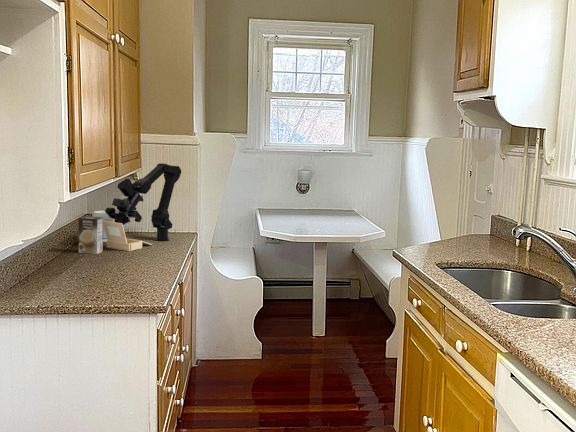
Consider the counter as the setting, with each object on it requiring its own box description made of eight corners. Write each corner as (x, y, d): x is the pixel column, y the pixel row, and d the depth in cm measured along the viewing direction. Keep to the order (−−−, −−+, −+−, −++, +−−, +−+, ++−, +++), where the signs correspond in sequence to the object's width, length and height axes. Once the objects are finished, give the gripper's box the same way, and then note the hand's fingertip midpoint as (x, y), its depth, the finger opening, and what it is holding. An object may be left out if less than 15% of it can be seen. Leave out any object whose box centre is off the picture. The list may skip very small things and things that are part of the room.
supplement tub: (89, 241, 298) (88, 212, 296) (101, 238, 307) (101, 209, 305) (105, 243, 295) (105, 213, 293) (117, 240, 304) (117, 211, 302)
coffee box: (77, 253, 270) (77, 217, 268) (84, 250, 277) (83, 215, 274) (97, 254, 270) (97, 218, 267) (103, 251, 276) (102, 216, 274)
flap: (103, 220, 279) (102, 221, 279) (122, 223, 273) (121, 223, 273) (108, 239, 283) (107, 240, 283) (127, 242, 277) (126, 243, 277)
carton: (131, 242, 300) (131, 234, 299) (154, 245, 293) (154, 238, 292) (105, 247, 284) (105, 239, 284) (129, 251, 277) (129, 243, 277)
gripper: (107, 190, 284) (90, 216, 276) (137, 193, 275) (120, 220, 267) (119, 205, 292) (103, 230, 284) (149, 208, 284) (132, 235, 276)
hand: (114, 228), depth 278 cm, fingers closed, pressing on flap
